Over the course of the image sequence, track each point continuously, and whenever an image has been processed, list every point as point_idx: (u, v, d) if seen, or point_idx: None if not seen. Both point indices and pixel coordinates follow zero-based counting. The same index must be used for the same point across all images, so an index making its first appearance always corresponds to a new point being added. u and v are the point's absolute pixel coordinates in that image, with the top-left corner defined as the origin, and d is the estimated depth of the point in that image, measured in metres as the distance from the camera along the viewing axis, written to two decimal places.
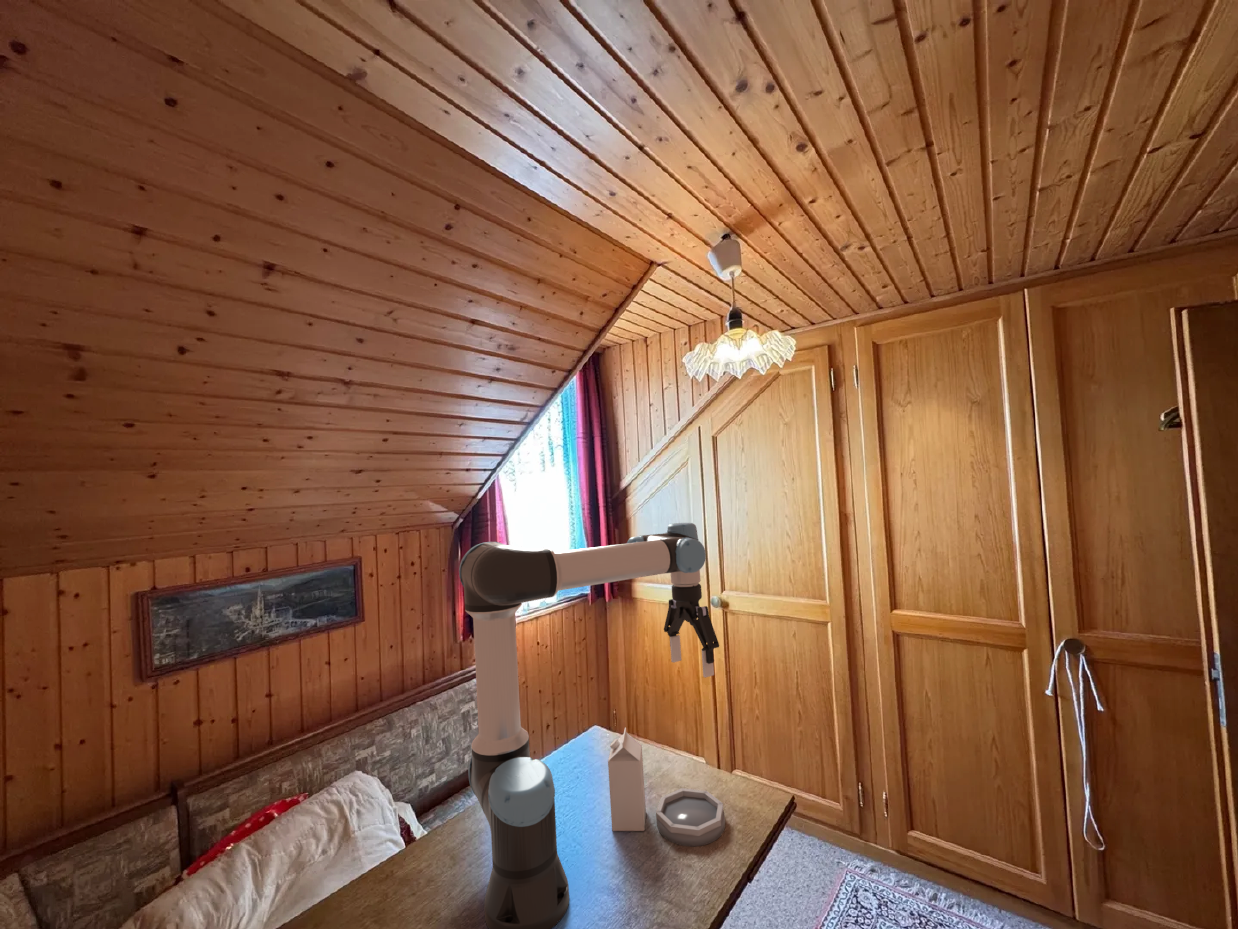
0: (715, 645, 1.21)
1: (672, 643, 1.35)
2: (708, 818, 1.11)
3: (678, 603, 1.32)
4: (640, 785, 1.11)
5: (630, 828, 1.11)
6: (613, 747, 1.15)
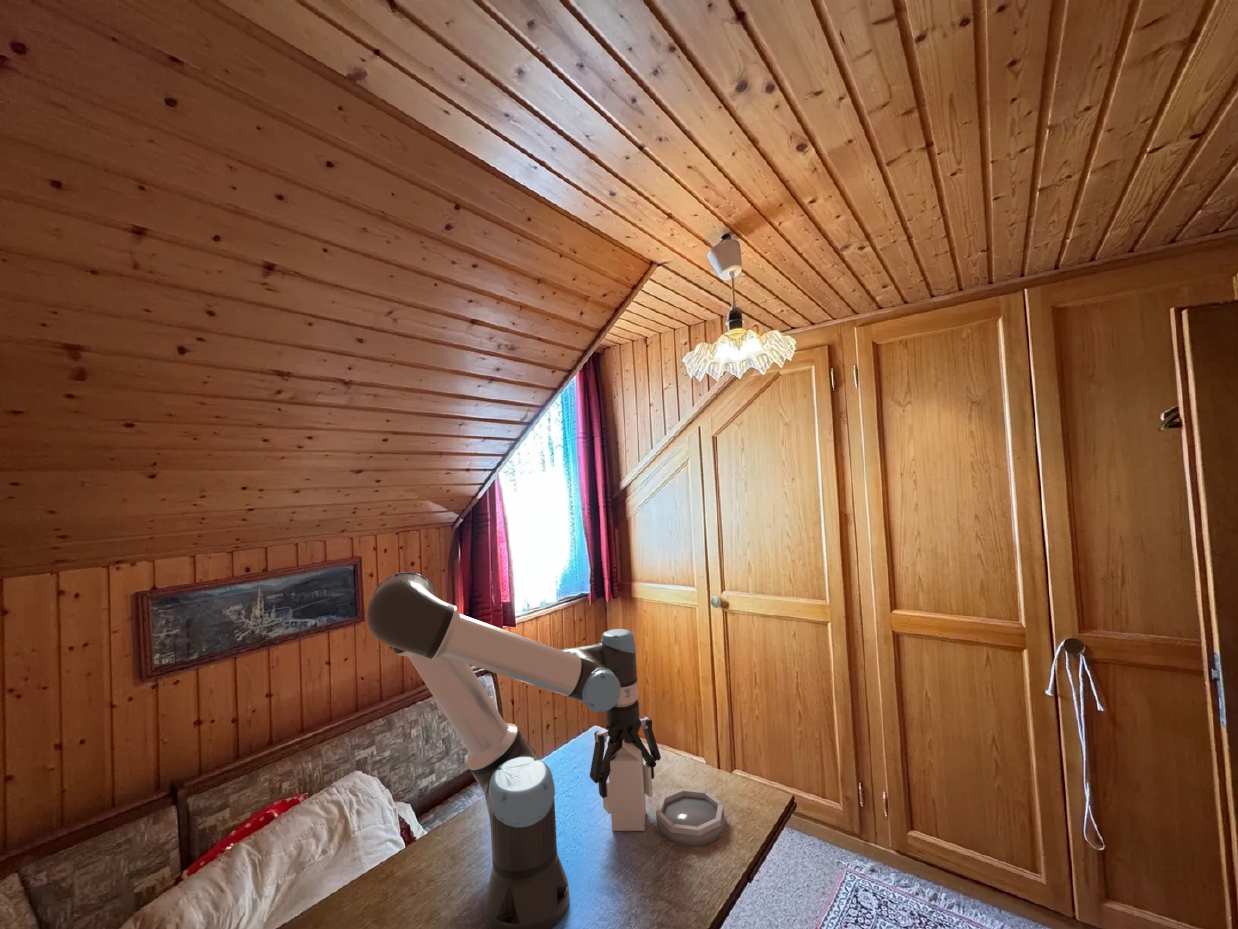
0: (592, 778, 1.11)
1: (643, 770, 1.18)
2: (708, 818, 1.11)
3: None
4: (640, 785, 1.11)
5: (630, 828, 1.11)
6: None
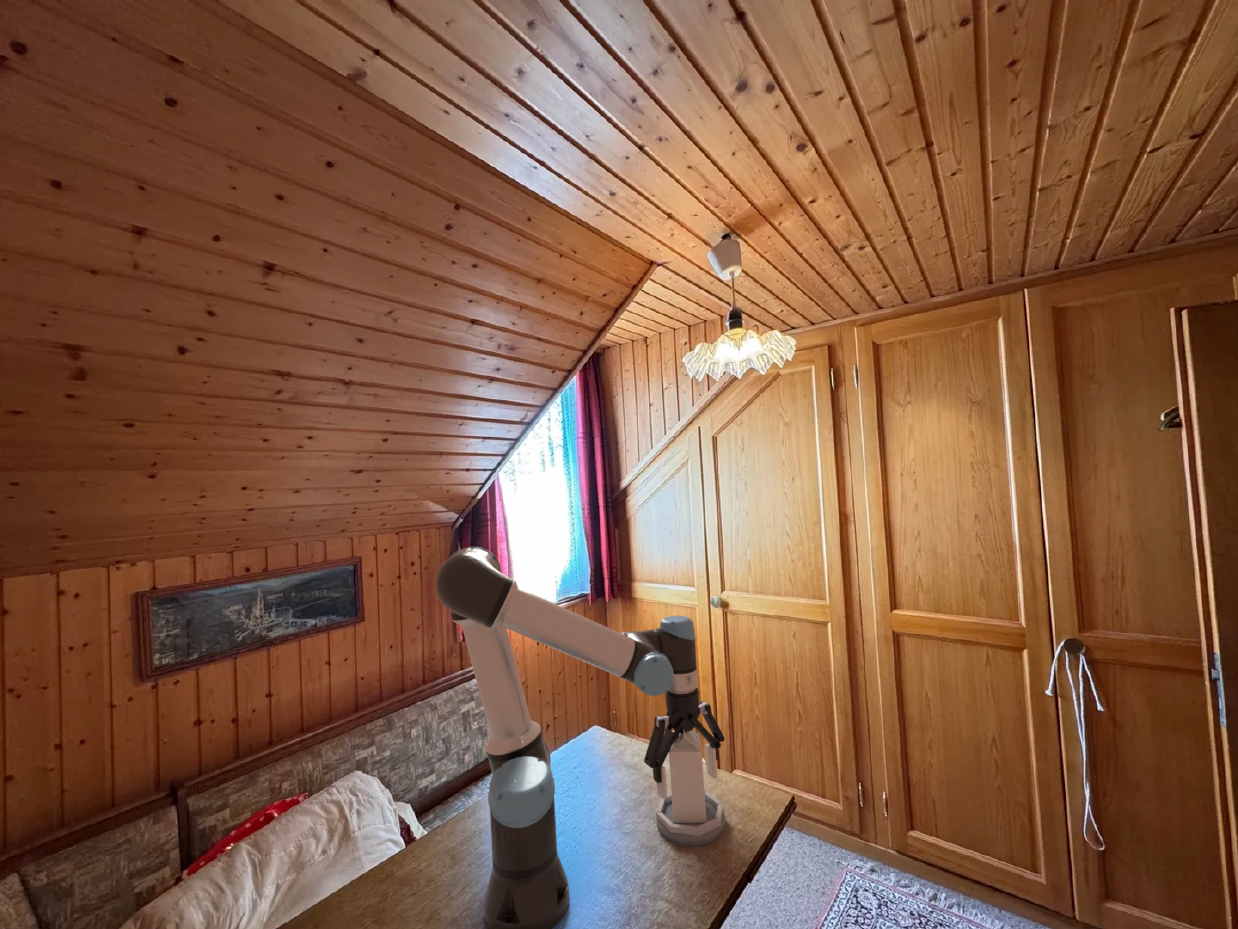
0: (647, 762, 1.09)
1: (706, 752, 1.17)
2: (708, 818, 1.11)
3: None
4: (702, 776, 1.09)
5: (692, 820, 1.09)
6: None
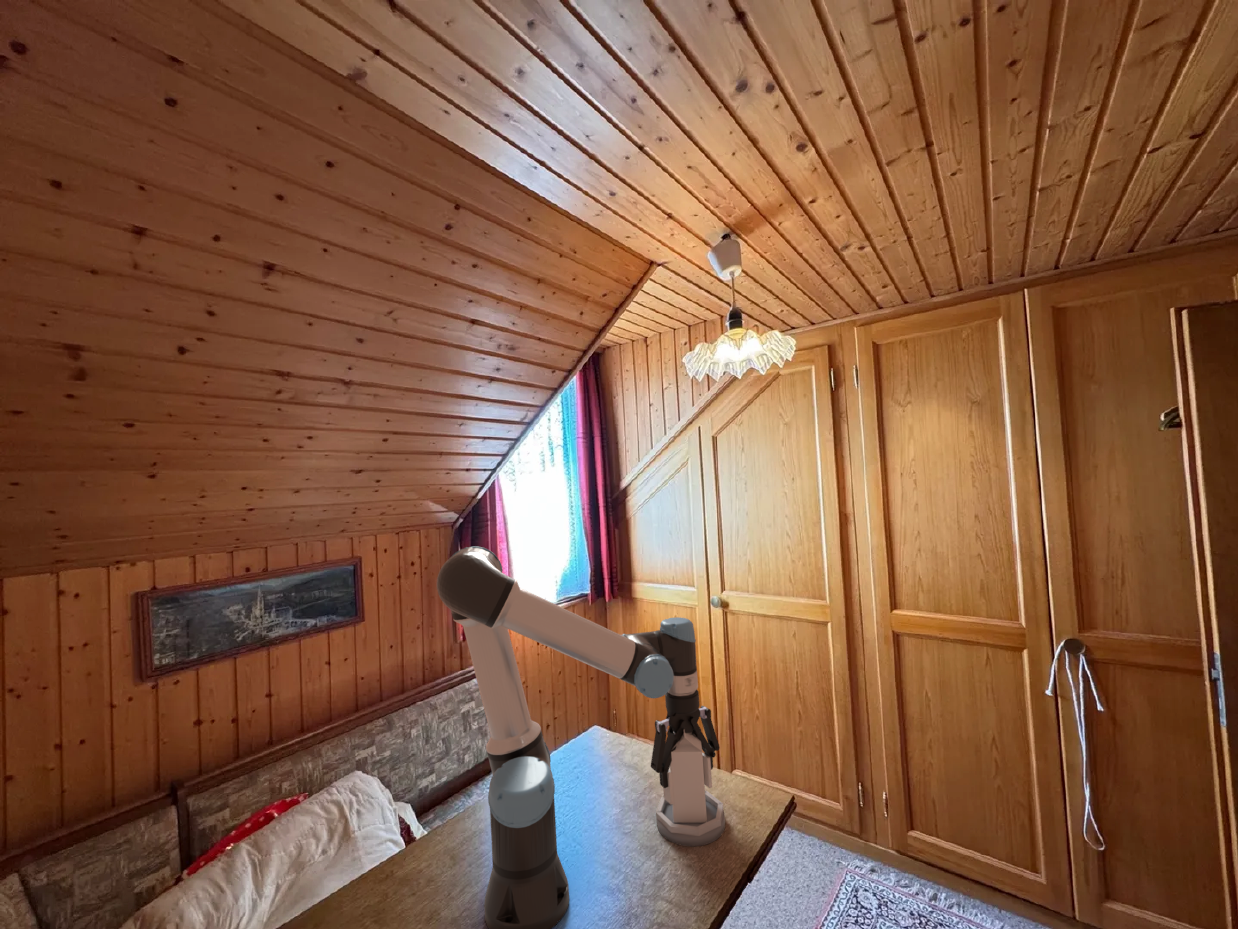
0: (654, 768, 1.09)
1: None
2: (708, 818, 1.11)
3: None
4: (702, 776, 1.09)
5: (692, 819, 1.09)
6: None
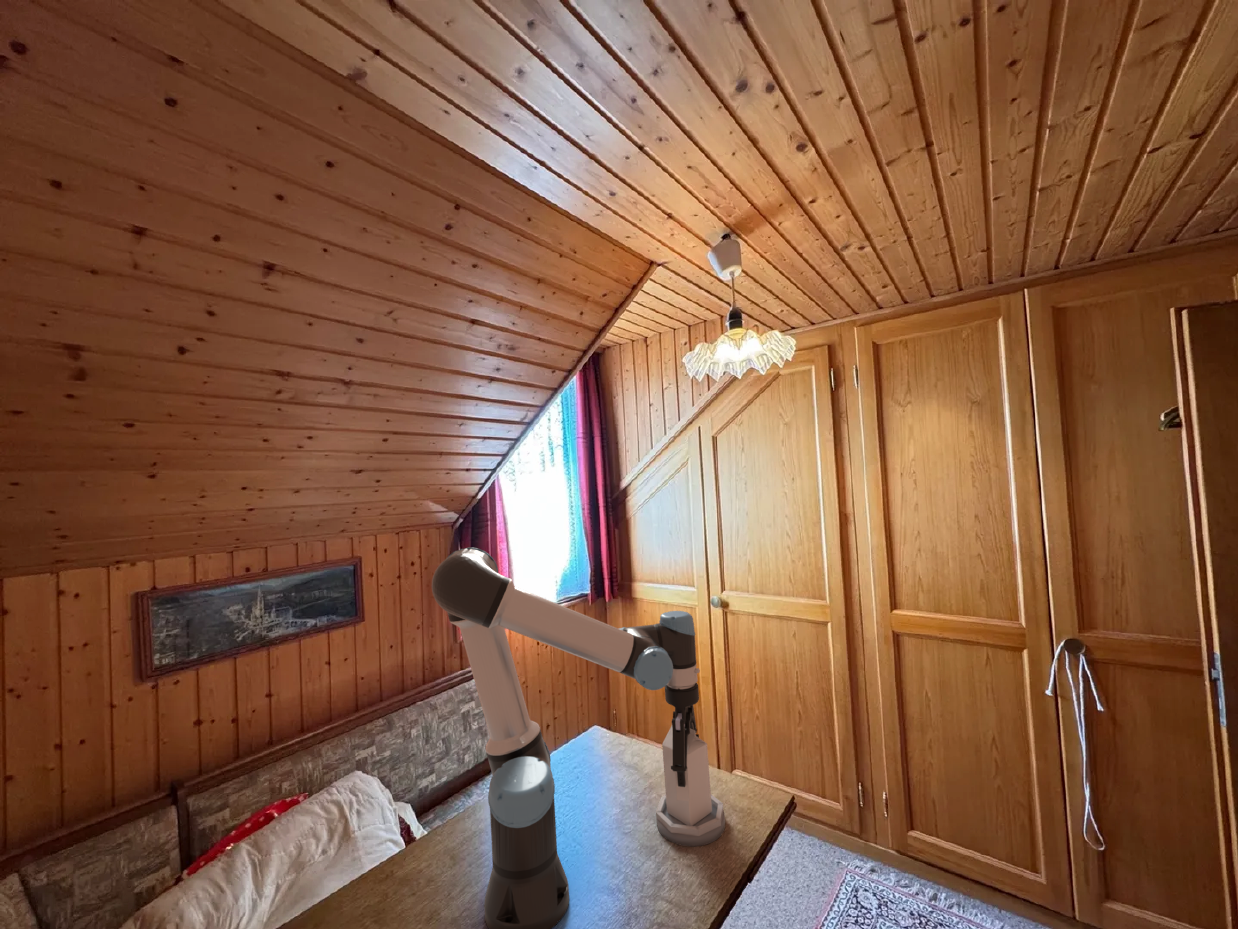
0: (679, 769, 1.05)
1: None
2: (708, 818, 1.11)
3: None
4: (708, 767, 1.13)
5: (703, 815, 1.11)
6: None
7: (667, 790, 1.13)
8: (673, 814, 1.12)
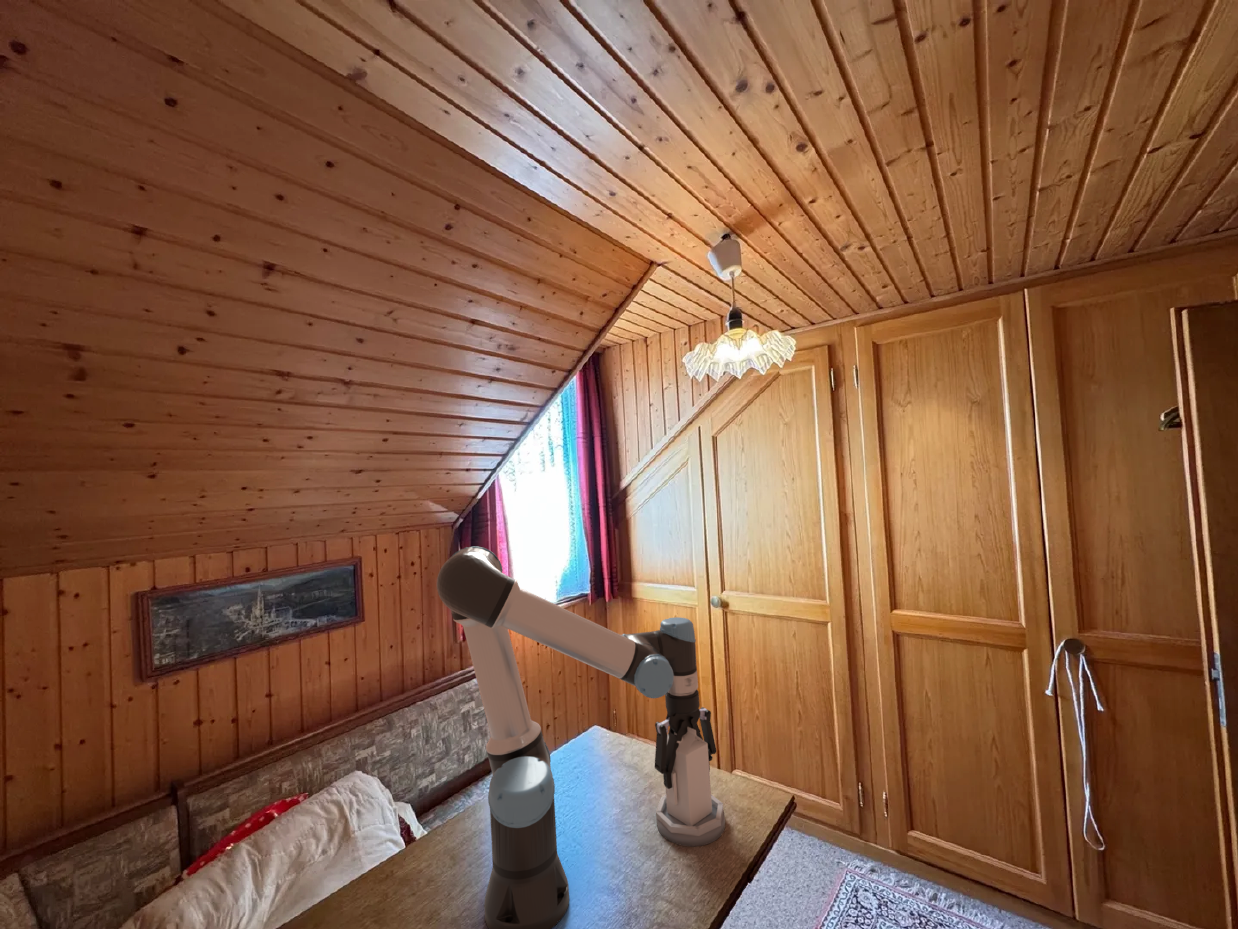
0: (658, 769, 1.10)
1: None
2: (708, 818, 1.11)
3: None
4: (708, 767, 1.13)
5: (703, 815, 1.11)
6: (680, 741, 1.11)
7: None
8: (673, 814, 1.12)
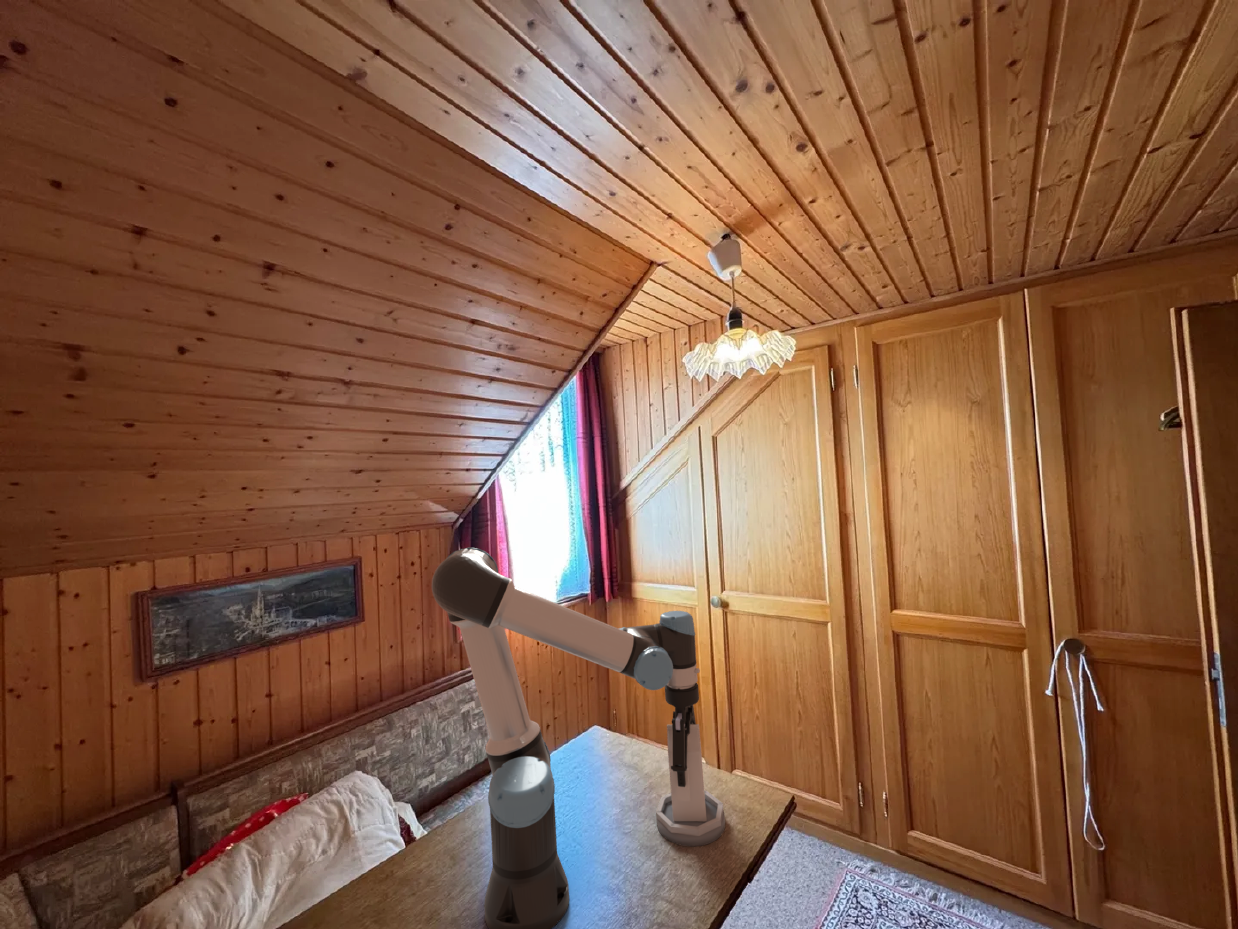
0: (679, 769, 1.05)
1: None
2: (708, 818, 1.11)
3: None
4: None
5: (705, 806, 1.13)
6: (688, 740, 1.11)
7: (674, 797, 1.10)
8: (683, 819, 1.10)
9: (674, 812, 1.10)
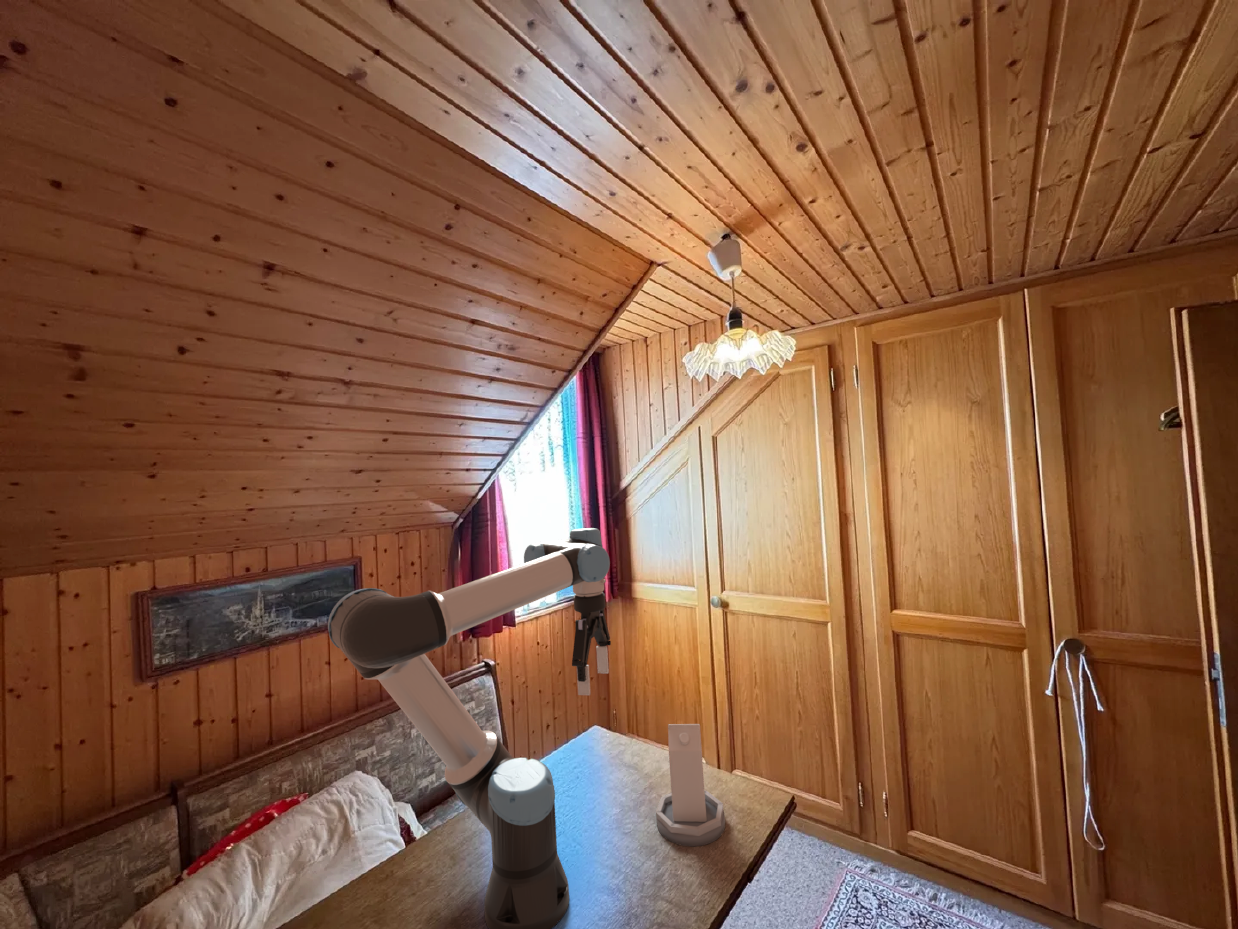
0: (577, 663, 1.12)
1: (597, 653, 1.28)
2: (708, 818, 1.11)
3: None
4: None
5: None
6: (689, 740, 1.12)
7: (675, 797, 1.10)
8: (683, 819, 1.10)
9: (674, 812, 1.10)
